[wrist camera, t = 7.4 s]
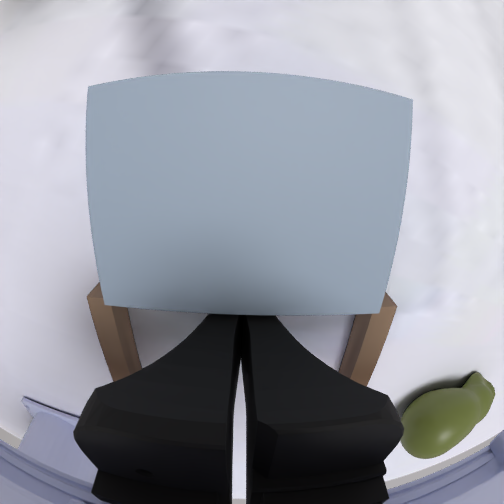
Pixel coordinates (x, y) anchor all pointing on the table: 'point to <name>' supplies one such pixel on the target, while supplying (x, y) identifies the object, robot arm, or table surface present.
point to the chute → (127, 362)
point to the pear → (445, 417)
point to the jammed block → (245, 192)
